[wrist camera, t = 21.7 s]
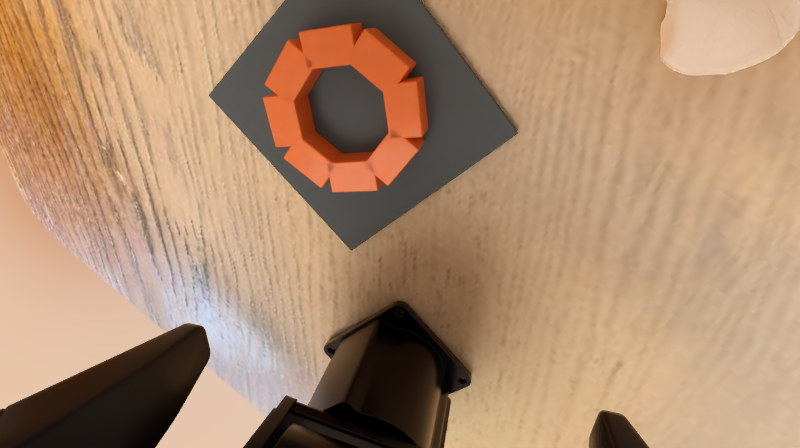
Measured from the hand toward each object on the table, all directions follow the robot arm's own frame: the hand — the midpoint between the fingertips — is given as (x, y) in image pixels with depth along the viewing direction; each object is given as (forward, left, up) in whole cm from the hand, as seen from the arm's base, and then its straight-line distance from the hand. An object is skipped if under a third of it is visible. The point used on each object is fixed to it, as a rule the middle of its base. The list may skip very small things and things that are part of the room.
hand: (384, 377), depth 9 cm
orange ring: (-5, -1, -11) cm, 12 cm away
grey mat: (-5, -1, -11) cm, 12 cm away
